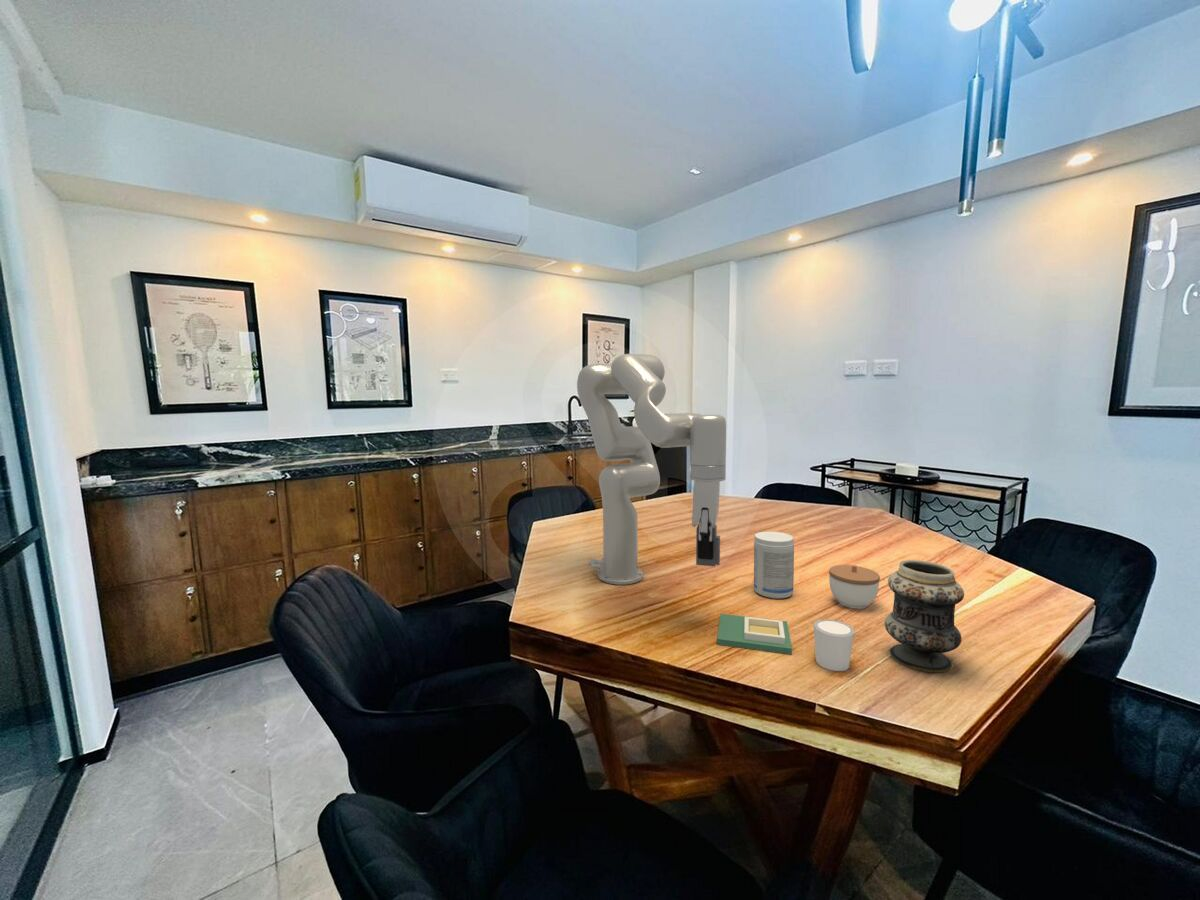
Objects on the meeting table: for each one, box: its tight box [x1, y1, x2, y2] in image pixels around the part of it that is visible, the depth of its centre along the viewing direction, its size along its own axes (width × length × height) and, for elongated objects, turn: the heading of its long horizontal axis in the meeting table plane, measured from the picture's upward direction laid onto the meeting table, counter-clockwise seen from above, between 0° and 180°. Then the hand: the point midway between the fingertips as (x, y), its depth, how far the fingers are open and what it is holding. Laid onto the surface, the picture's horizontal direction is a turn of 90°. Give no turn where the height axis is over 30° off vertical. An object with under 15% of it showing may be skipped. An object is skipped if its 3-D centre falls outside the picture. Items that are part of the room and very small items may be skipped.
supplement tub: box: [753, 531, 795, 600], centre depth 123 cm, size 10×10×15 cm
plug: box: [695, 523, 721, 567], centre depth 106 cm, size 5×4×8 cm
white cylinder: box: [813, 618, 855, 672], centre depth 90 cm, size 7×7×7 cm
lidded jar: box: [828, 564, 881, 610], centre depth 116 cm, size 11×11×9 cm
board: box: [716, 613, 793, 655], centre depth 101 cm, size 14×12×3 cm
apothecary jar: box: [883, 559, 965, 674], centre depth 91 cm, size 12×12×18 cm
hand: (706, 554), depth 106 cm, fingers closed on plug, 4 cm apart
